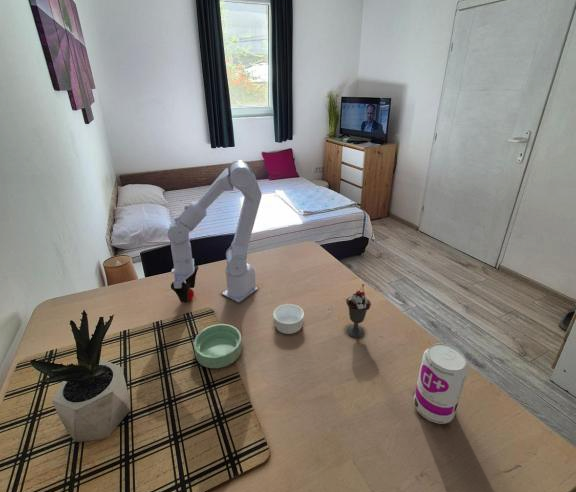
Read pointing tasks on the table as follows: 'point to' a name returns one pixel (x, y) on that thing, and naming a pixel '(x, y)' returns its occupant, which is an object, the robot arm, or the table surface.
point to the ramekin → (288, 318)
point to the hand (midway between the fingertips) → (187, 294)
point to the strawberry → (190, 294)
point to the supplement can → (440, 383)
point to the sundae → (357, 312)
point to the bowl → (218, 346)
